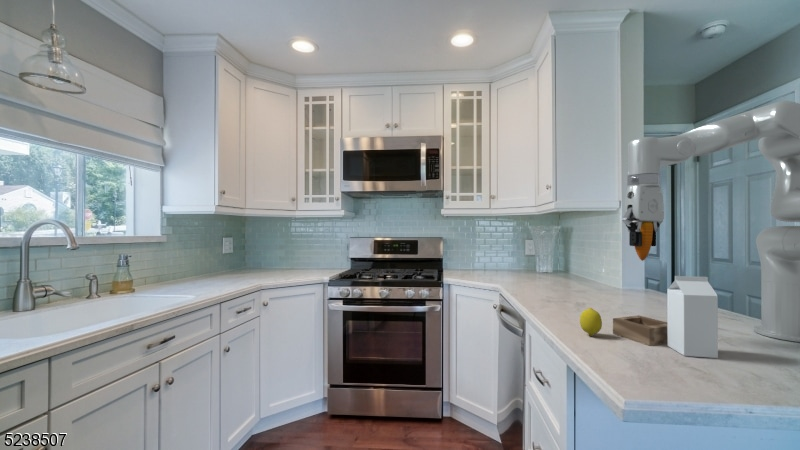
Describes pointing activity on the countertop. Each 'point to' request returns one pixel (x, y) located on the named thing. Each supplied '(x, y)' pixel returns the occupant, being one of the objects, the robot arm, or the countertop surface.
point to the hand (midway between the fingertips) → (642, 245)
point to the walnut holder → (641, 329)
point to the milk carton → (692, 317)
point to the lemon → (590, 321)
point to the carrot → (645, 239)
